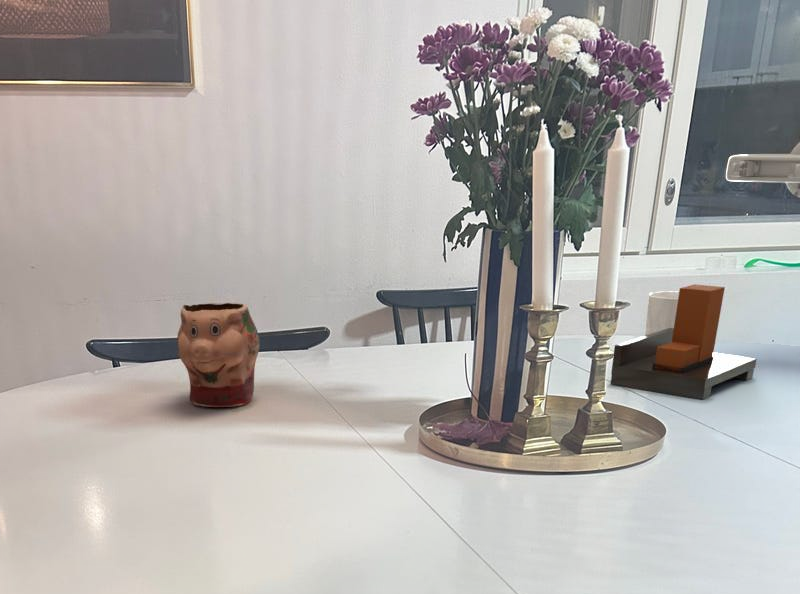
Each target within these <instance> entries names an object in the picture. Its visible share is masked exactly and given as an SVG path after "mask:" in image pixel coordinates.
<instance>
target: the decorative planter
mask: <svg viewBox="0 0 800 594" xmlns="http://www.w3.org/2000/svg"><path fill="white" fill-rule="evenodd" d="M180 321H181V324H180V325H179V329H178V332H177V338H176V344H177V345H176V346H177V354H178V356H179V359H180V360H181V363H183V365H184V367H185V369H186V371H187V375H188V380H189V387H190V388H189V402H190V403H192V402H193V403H192V404H193V405H196V406H201V407H212V408H213V407H214V408H217V407H218V408H224V407H225V408H227V407H237V406H242V405H246V404H248V403H250V402H251V401H252V399H253V396H254V391H255V369H256V363H257V359H258V355H259V351H260V335H259V332H258V328H257V326H256V324H255V323H254V321H253V319H252V316H251V314H250V310H249V308H248V306H247V305H246V304H243V303H239V302H238V303H237V302H223V303H220V302H219V303H218V302H217V303H216V302H209V303H197V304H196V303H195V304H190V305H187V304H183V306H182V307H181V310H180Z"/></svg>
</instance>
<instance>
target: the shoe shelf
mask: <svg viewBox="0 0 800 594" xmlns="http://www.w3.org/2000/svg"><path fill="white" fill-rule="evenodd" d="M673 330H674V328H668V329H665V330H661V331H658V332H655V333H652V334H649V335H646V336H645V335H642V336H640V337H636V338H634V339H630V340H627V341H624V342H620V343H618V344H615V345H614V347H613V356H614V357H613V356H612V363H611V374H610V375H611V377H610V385H611V386H612V385H614V386H619V387H623V388H632V389H638V390H641V391H649V392H654V393H655V392H656V393H661V394H667V395H674V396H678V397H684V398H691V399H697V400H705V399H708V398H710V397H711V393H712V387H713V386H715V385H718V384H720V383H723V382H726V381H727V380H730V379H733V380H739V381H740V380H741V381H745V382H746V381H748V380H750V379H752V378H753V377H754V373H755V368H756V365H757V358H755V357H748V356H741V355H734V354H726V353H718V352H713V357H714V359H713V362H711V363H708V364H705V365H703V366H700V367H698V368H695V369H692V370H690V371H687V372H684V373H680V372H673V371H667V370H660V369H653V368H652V367H653V363H655V359H656V352H657V347H659V346H662V345H665V344H668V343H671V342H672V336H673Z"/></svg>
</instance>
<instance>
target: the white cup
mask: <svg viewBox="0 0 800 594" xmlns="http://www.w3.org/2000/svg"><path fill="white" fill-rule="evenodd" d="M678 297H679V291H655V292H650V293H649V294H648V300H647V301H648V302H647V303H648V304H647V310H646V311H647V313H646V322H645V334H644V336H646V335H649V334H652V333H655V332H658V331H661V330H665V329H668V328H674V323H675V317H676V310H677V304H678Z"/></svg>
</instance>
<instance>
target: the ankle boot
mask: <svg viewBox="0 0 800 594" xmlns="http://www.w3.org/2000/svg"><path fill="white" fill-rule="evenodd" d="M725 288H726V287H725V286H717V285H707V284H695V283H694V284H691V285H690V284H689V285H687V286H683V287H680V288H679V291H678V292H679V297H678V304H677V310H676V317H675V323H674V330H673V336H672V342H671V343H668V344H665V345H662V346H659V347H657V352H656V359H655V363H653V367H652V368H653V369H660V370H667V371H673V372H680V373H684V372H687V371H690V370H692V369H695V368H698V367H700V366H703V365H705V364H708V363H711V362H713V359H714V357H713V353H715V351H714V350H715V345H716V339H717V333H718V327H719V323H720V317H721V312H722V307H723V300H724V294H725Z"/></svg>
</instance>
